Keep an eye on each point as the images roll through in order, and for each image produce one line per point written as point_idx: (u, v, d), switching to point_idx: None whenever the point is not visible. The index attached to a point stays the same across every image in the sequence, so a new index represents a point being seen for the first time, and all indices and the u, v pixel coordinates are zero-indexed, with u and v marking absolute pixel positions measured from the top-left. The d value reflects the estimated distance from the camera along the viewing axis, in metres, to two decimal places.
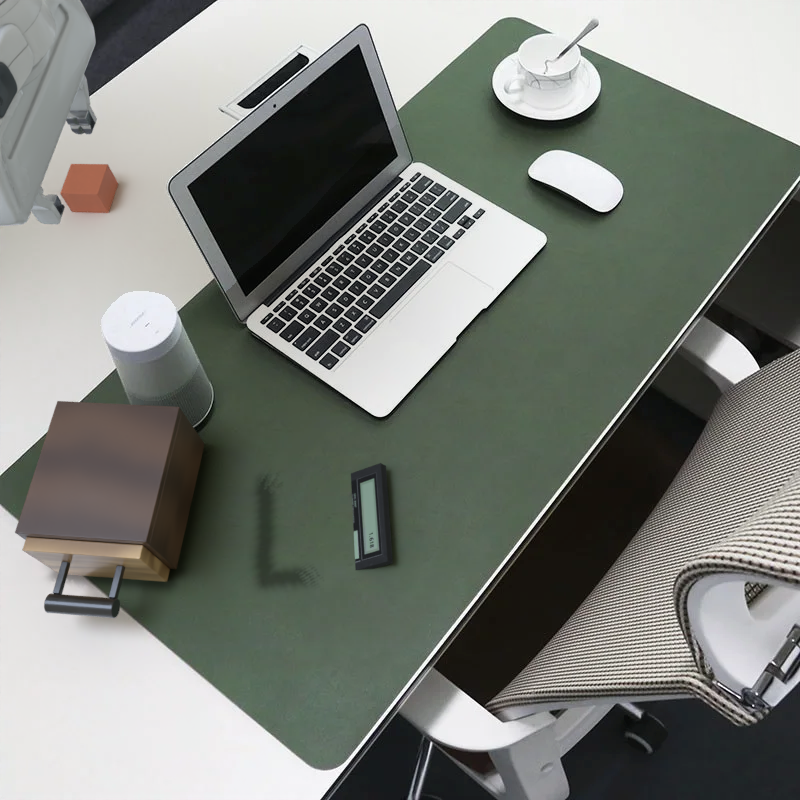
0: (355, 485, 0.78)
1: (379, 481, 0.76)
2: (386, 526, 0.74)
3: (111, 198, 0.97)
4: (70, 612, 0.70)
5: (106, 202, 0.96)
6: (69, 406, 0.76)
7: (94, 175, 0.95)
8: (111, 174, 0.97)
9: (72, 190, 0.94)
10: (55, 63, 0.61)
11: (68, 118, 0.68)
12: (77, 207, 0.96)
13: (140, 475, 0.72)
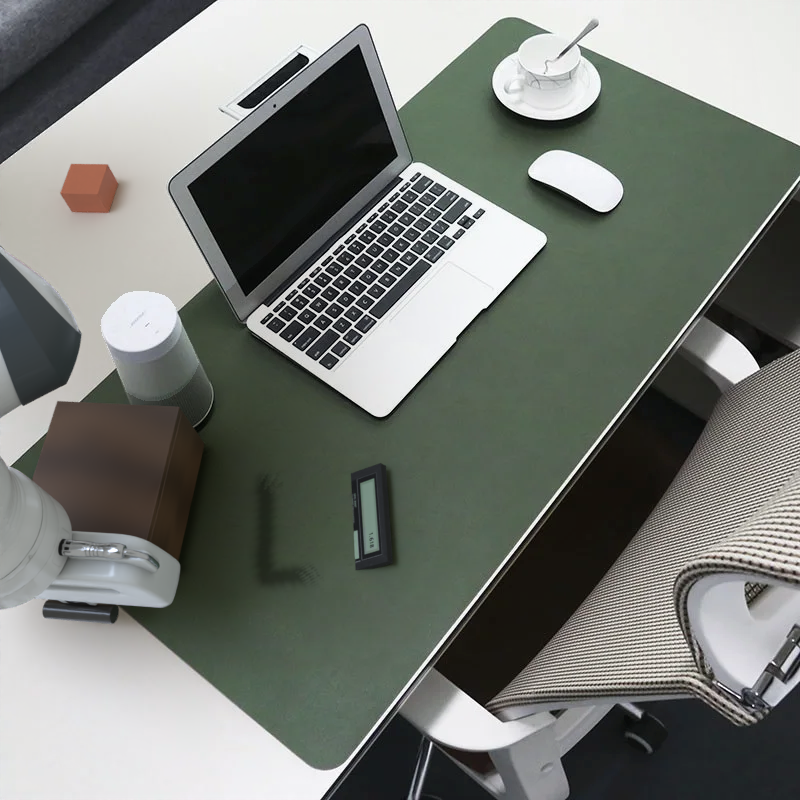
0: (355, 485, 0.78)
1: (379, 481, 0.76)
2: (386, 526, 0.74)
3: (111, 198, 0.97)
4: (69, 618, 0.70)
5: (106, 202, 0.96)
6: (69, 406, 0.76)
7: (94, 175, 0.95)
8: (111, 174, 0.97)
9: (72, 190, 0.94)
10: (65, 591, 0.62)
11: None
12: (77, 207, 0.96)
13: (140, 475, 0.72)
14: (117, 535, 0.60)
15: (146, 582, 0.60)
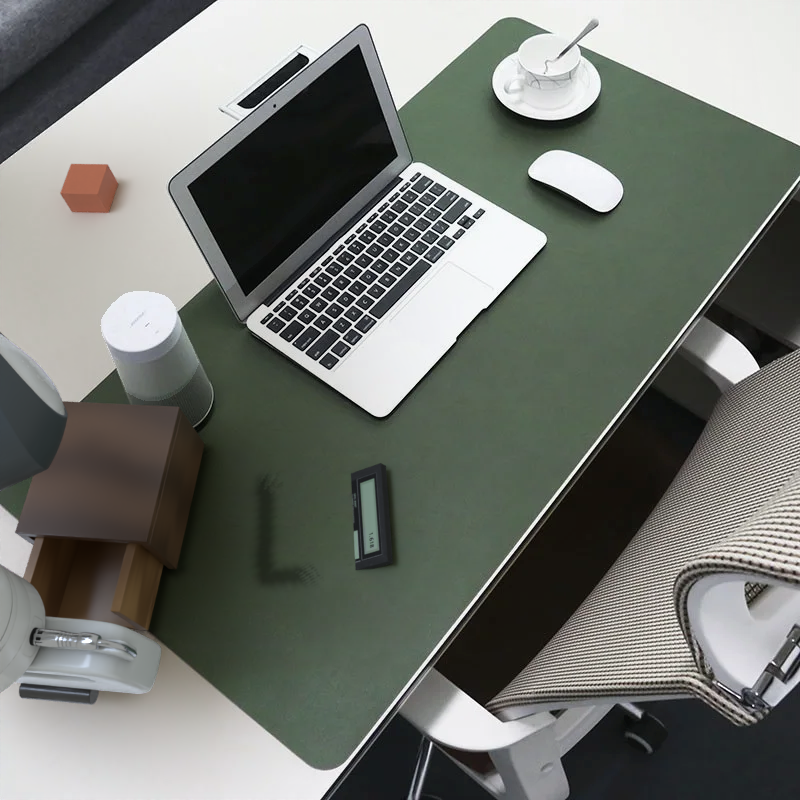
0: (355, 485, 0.78)
1: (379, 481, 0.76)
2: (386, 526, 0.74)
3: (111, 198, 0.97)
4: (46, 699, 0.67)
5: (106, 202, 0.96)
6: (69, 406, 0.76)
7: (94, 175, 0.95)
8: (111, 174, 0.97)
9: (72, 190, 0.94)
10: (39, 677, 0.59)
11: None
12: (77, 207, 0.96)
13: (140, 475, 0.72)
14: (92, 622, 0.57)
15: (122, 672, 0.57)
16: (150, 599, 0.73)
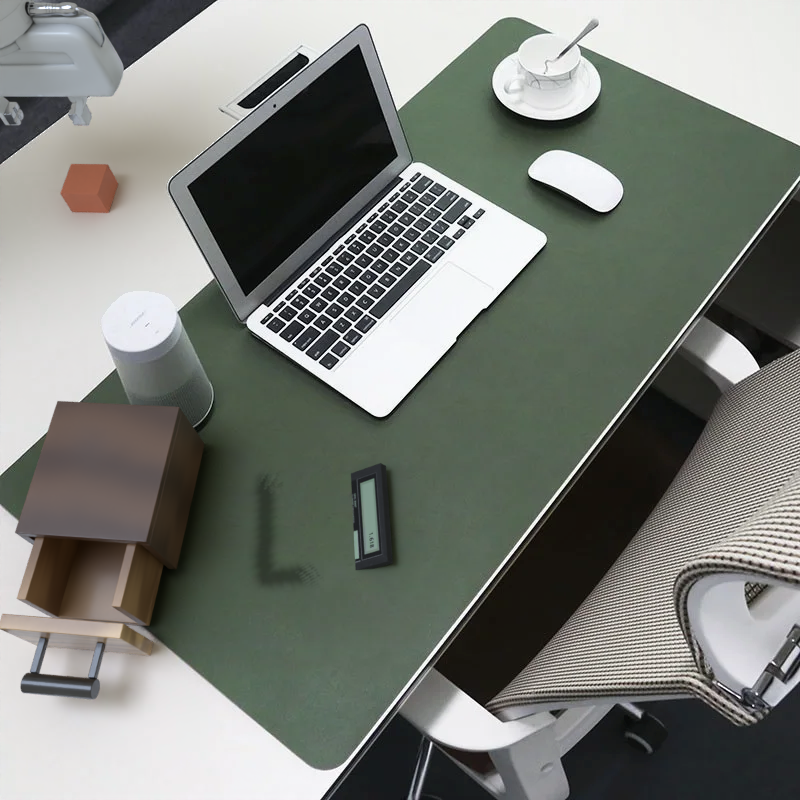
0: (355, 485, 0.78)
1: (379, 481, 0.76)
2: (386, 526, 0.74)
3: (111, 198, 0.97)
4: (48, 694, 0.67)
5: (106, 202, 0.96)
6: (69, 406, 0.76)
7: (94, 175, 0.95)
8: (111, 174, 0.97)
9: (72, 190, 0.94)
10: (31, 68, 0.79)
11: (72, 104, 0.86)
12: (77, 207, 0.96)
13: (140, 475, 0.72)
14: None
15: (93, 47, 0.77)
16: (151, 595, 0.74)
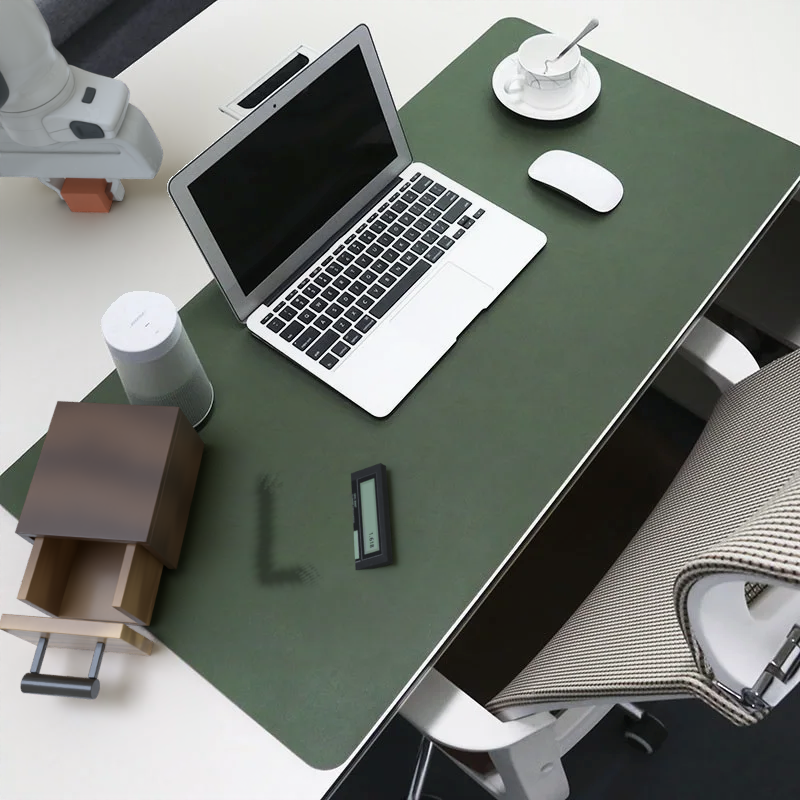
0: (355, 485, 0.78)
1: (379, 481, 0.76)
2: (386, 526, 0.74)
3: None
4: (48, 694, 0.67)
5: (106, 202, 0.96)
6: (69, 406, 0.76)
7: None
8: None
9: (72, 190, 0.94)
10: None
11: None
12: (77, 207, 0.96)
13: (140, 475, 0.72)
14: None
15: None
16: (151, 595, 0.74)
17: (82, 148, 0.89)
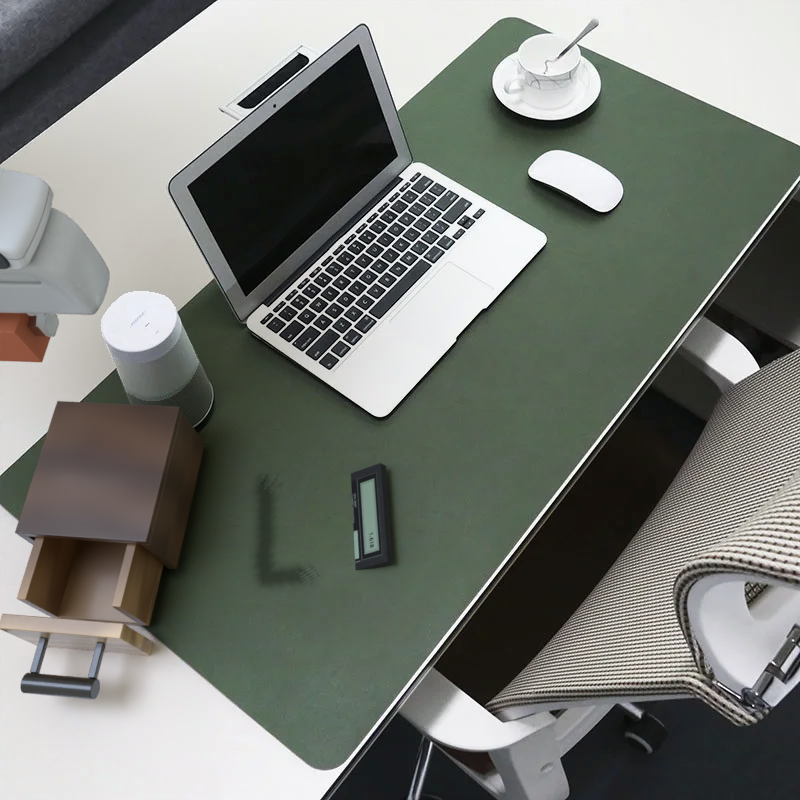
0: (355, 485, 0.78)
1: (379, 481, 0.76)
2: (386, 526, 0.74)
3: None
4: (48, 694, 0.67)
5: (31, 340, 0.66)
6: (69, 406, 0.76)
7: None
8: None
9: None
10: None
11: None
12: None
13: (140, 475, 0.72)
14: None
15: None
16: (151, 595, 0.74)
17: None
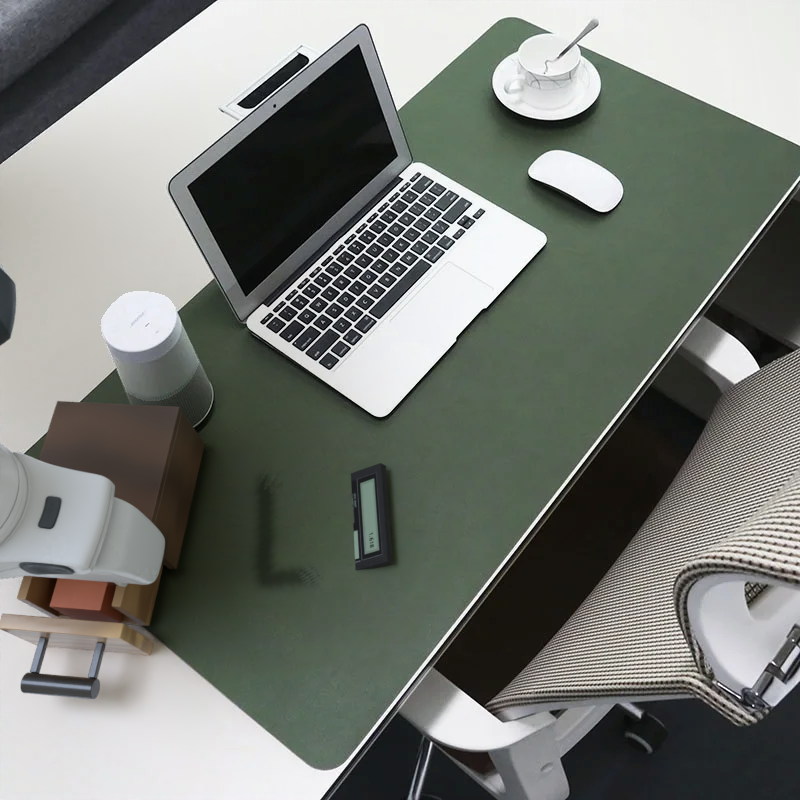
0: (355, 485, 0.78)
1: (379, 481, 0.76)
2: (386, 526, 0.74)
3: None
4: (48, 693, 0.67)
5: (112, 609, 0.71)
6: (69, 406, 0.76)
7: None
8: None
9: (66, 602, 0.70)
10: None
11: None
12: (72, 614, 0.72)
13: (140, 475, 0.72)
14: None
15: None
16: (151, 594, 0.74)
17: None
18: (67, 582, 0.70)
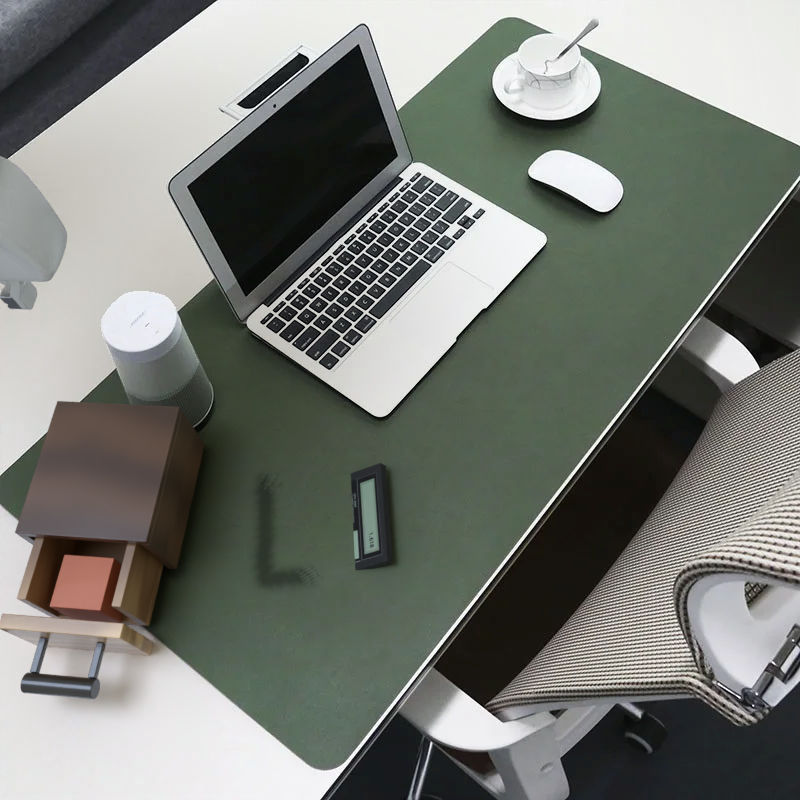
0: (355, 485, 0.78)
1: (379, 481, 0.76)
2: (386, 526, 0.74)
3: None
4: (48, 693, 0.67)
5: (112, 609, 0.71)
6: (69, 406, 0.76)
7: (95, 577, 0.70)
8: (118, 566, 0.72)
9: (66, 602, 0.70)
10: None
11: None
12: (72, 614, 0.72)
13: (140, 475, 0.72)
14: None
15: None
16: (151, 594, 0.74)
17: None
18: (67, 582, 0.70)
